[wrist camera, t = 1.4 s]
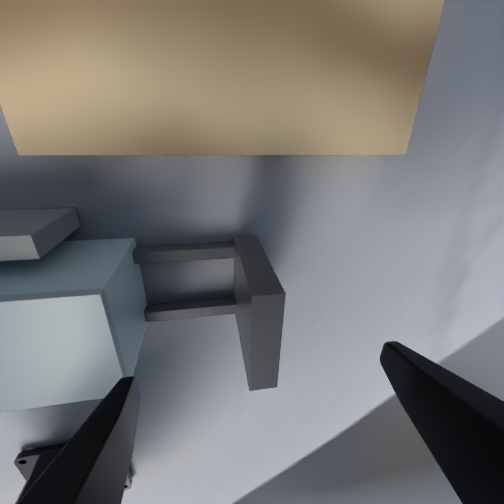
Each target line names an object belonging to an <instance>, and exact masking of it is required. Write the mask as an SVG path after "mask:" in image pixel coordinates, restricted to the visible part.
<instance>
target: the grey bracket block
mask: <svg viewBox="0 0 504 504" xmlns="http://www.w3.org/2000/svg"><path fill="white" fill-rule="evenodd" d="M225 258H234V298H225V299H213V300H201V301H190V302H178V303H166V304H155V305H147V300H146V294H145V289H144V284H143V278H142V273H141V268H140V264H141V263H158V262H175V261H191V260H208V259H225ZM284 303H285V292H284V290H283V288H282V286H281V284H280V282H279V280H278V278H277V276H276V274H275V272H274V270H273V268H272V266H271V264H270V262H269V260H268V258H267V256H266V255H265V253H264V251H263V249H262V247H261V245H260V243H259V241H258V239H257V237H256V236H243V237H234V242H226V243H206V244H186V245H165V246H145V247H137V246H136V241H135V238H123V239H101V240H78V241H61V242H60V243H59V244H58V245H56V246H55V247H54V248H53V249H51V250H50V251H49V252H48V253H46V254H45V255H44V256H43V257H41V258H40V259H29V260H12V261H0V413H1V412H8V411H15V410H22V409H30V408H37V407H44V406H51V405H58V404H66V403H73V402H80V401H87V400H95V399H102V398H105V396H106V395H107V394H108V393H109V392H110V390H111V389H112V388H113V387H114V385H115V384H116V383H117V382H118V381H119V379H121V378H122V377H128V376H133V375H134V371H135V368H136V364H137V360H138V357H139V353H140V350H141V346H142V342H143V339H144V335H145V332H146V328H147V324H148V322H149V321H159V320H170V319H180V318H191V317H201V316H212V315H222V314H233V313H235V315H236V320H237V326H238V331H239V337H240V342H241V348H242V353H243V359H244V364H245V370H246V375H247V381H248V386H249V391H253V390H260V389H267V388H273V387H277V381H278V370H279V359H280V348H281V337H282V326H283V314H284Z"/></svg>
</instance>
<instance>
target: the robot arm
mask: <svg viewBox="0 0 504 504" xmlns="http://www.w3.org/2000/svg"><path fill="white" fill-rule="evenodd" d="M380 363H381V365H382V367H383V369H384V371H385V373H386V375H387V377H388V379H389V381H390V383H391V385H392V387H393V389H394V391H395V393H396V395H397V397H398V399H399V401H400V403H401V404H402V406H403V408H404V410H405V411H406V413H407V414H408V416H409V418H410V419H411V421H412V423H413V424H414V426H415V427H416V429H417V430H418V432H419V434H420V435H421V437H422V439H423V440H424V442H425V444H426V445H427V447H428V448H429V450H430V452H431V453H432V455H433V456H434V458H435V460H436V461H437V463H438V465H439V466H440V468H441V469H442V471H443V473H444V474H445V476H446V478H447V479H448V481H449V482H450V484H451V486H452V487H453V489H454V491H455V492H456V494H457V495H458V497H459V499H460V500H461V502H462V503H463V504H504V401H502V400H500V399H498V398H497V397H495V396H493V395H491V394H490V393H488V392H486V391H484V390H482V389H481V388H479V387H477V386H475V385H474V384H472V383H470V382H468V381H466V380H464V379H463V378H461V377H459V376H458V375H456V374H454V373H452V372H450V371H449V370H447V369H445V368H443V367H441V366H440V365H438V364H436V363H434V362H433V361H431V360H429V359H427V358H425V357H424V356H422V355H420V354H418V353H417V352H415V351H413V350H411V349H409V348H408V347H406V346H404V345H402V344H401V343H399V342H396V341H391V342H386V343H385V344H384V346H383V349H382V352H381V355H380ZM139 400H140V393H139V389H138V385H137V381H136V378H135V377H134V376H128V377H122V378H121V379H119V381H118V382H117V383H116V384H115V385H114V387H113V388H112V389H111V390H110V392H109V393H108V394H107V395H106V396H105V398H104V399H103V400H102V401H101V403H100V404H99V405H98V406H97V407H96V409H95V410H94V411H93V412H92V413H91V415H90V416H89V417H88V418H87V420H86V421H85V422H84V423H83V424H82V426H81V427H80V428H79V429H78V431H77V432H76V433H75V434H74V435H73V437H72V438H71V439H70V440H69V442H68V443H67V444H65V445H59V446H53V447H47V448H41V449H35V450H29V451H23V452H20V453H19V454H18V456H17V457H16V459H15V461H14V464H15V465H16V466H17V468H18V469H19V471H20V472H21V474H22V475H23V477H24V478H25V480H26V483H25V485H24V487H23V489H22V491H21V493H20V495H19V497H18V499H17V501H16V503H15V504H121V501H122V497H123V493H124V490H127V489H129V488H130V487H131V484H132V477H131V474H130V471H129V467H130V463H131V458H132V453H133V446H134V439H135V431H136V424H137V416H138V408H139Z"/></svg>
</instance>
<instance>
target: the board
mask: <svg viewBox="0 0 504 504" xmlns="http://www.w3.org/2000/svg"><path fill="white" fill-rule="evenodd" d="M444 2H445V0H0V105H1V108H2V111H3V113H4V116H5V119H6V122H7V125H8V128H9V130H10V133H11V136H12V139H13V142H14V145H15V148H16V150H17V153H18V155H406V153H407V149H408V145H409V141H410V137H411V133H412V129H413V125H414V121H415V117H416V113H417V109H418V105H419V101H420V97H421V93H422V89H423V85H424V82H425V78H426V74H427V70H428V66H429V62H430V58H431V54H432V50H433V46H434V42H435V38H436V34H437V30H438V26H439V22H440V18H441V14H442V10H443V6H444Z"/></svg>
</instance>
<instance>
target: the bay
mask: <svg viewBox="0 0 504 504" xmlns="http://www.w3.org/2000/svg"><path fill="white" fill-rule="evenodd" d="M79 227H80V222H79V219H78V215H77V212H76V208H46V209H14V210H0V261H12V260H29V259H40V258H41V257H43V256H44V255H45V254H46V253H48V252H49V251H50V250H51V249H53V248H54V247H55V246H56V245H58V244H59V243H60V242H61V241H63V240H64V239H65V238H66V237H68V236H69V235H70V234H71V233H73V232H74V231H75V230H76V229H77V228H79Z"/></svg>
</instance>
